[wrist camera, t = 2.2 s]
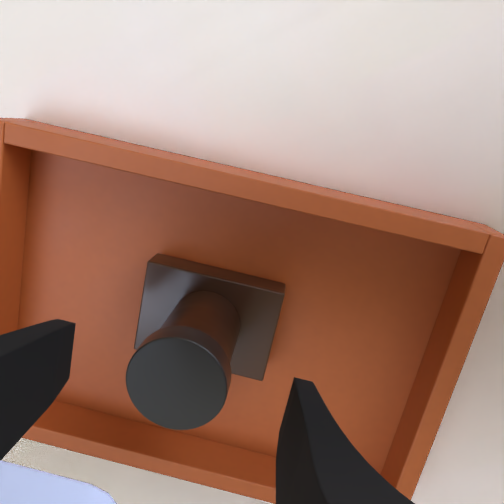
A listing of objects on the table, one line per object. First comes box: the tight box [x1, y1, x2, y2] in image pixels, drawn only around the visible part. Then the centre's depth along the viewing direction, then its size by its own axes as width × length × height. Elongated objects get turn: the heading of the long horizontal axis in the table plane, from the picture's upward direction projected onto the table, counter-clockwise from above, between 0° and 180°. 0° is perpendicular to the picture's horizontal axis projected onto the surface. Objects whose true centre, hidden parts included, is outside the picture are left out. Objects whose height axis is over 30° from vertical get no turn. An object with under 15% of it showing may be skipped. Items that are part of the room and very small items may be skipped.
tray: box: [0, 118, 504, 504], centre depth 19 cm, size 20×14×2 cm
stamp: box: [126, 253, 286, 430], centre depth 17 cm, size 6×4×6 cm
